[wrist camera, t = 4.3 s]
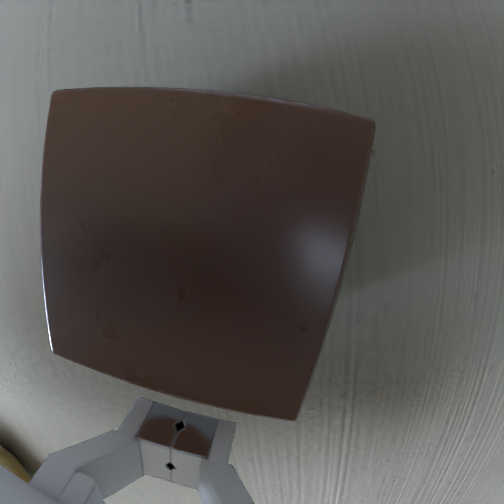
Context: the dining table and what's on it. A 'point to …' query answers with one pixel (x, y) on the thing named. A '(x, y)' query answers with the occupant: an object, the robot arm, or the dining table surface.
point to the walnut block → (198, 238)
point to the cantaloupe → (13, 464)
